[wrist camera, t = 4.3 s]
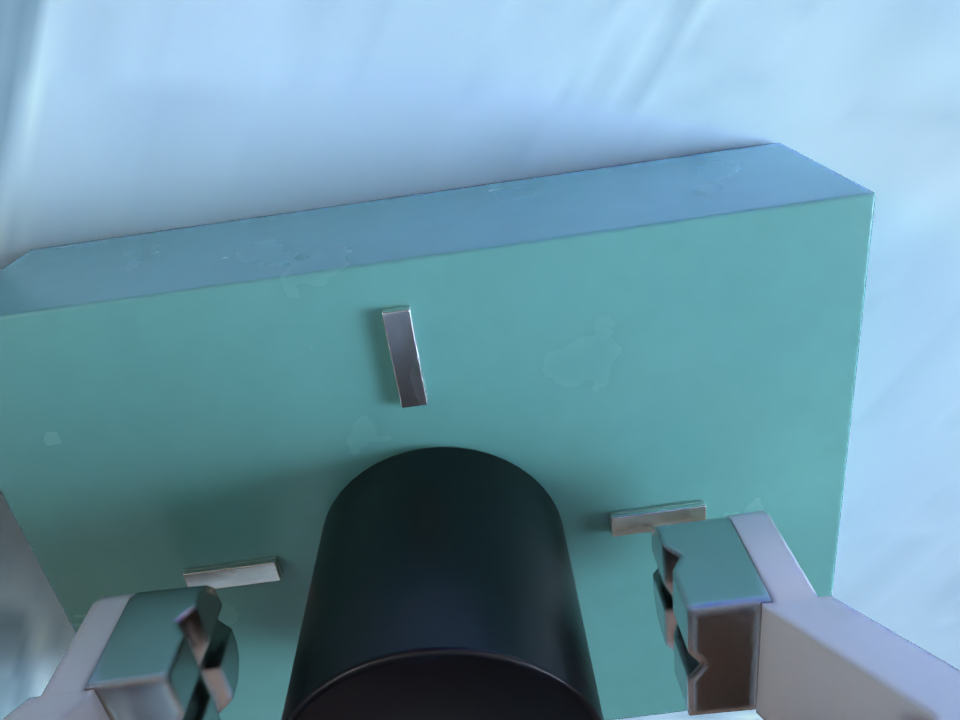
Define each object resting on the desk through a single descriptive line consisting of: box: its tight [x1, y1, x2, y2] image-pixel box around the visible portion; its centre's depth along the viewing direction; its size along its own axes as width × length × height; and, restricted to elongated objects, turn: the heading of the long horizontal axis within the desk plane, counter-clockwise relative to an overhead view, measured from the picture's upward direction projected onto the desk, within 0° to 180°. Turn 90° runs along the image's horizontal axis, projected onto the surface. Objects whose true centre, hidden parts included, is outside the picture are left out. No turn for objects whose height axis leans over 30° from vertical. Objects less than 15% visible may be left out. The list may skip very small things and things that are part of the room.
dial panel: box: [0, 143, 875, 720], centre depth 13 cm, size 12×9×3 cm
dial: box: [281, 447, 604, 720], centre depth 10 cm, size 4×4×4 cm
